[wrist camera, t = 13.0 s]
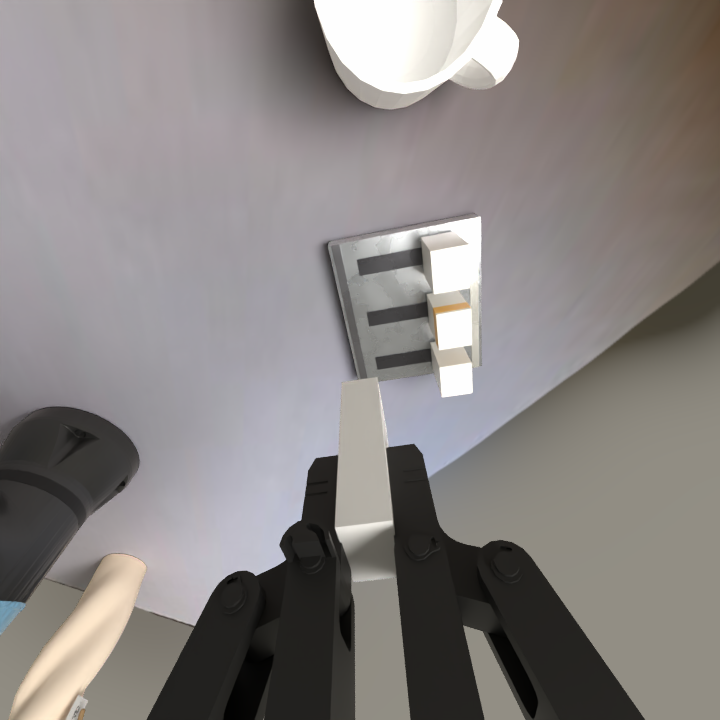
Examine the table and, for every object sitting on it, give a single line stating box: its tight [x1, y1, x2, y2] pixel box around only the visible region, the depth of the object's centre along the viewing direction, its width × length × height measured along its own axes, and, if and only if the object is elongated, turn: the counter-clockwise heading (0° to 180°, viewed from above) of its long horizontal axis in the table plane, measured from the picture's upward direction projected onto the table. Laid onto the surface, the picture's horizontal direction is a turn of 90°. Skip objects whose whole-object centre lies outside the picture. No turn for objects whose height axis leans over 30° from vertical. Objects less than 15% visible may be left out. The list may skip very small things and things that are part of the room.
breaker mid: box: [427, 290, 472, 350], centre depth 33 cm, size 3×4×5 cm
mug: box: [314, 0, 519, 110], centre depth 22 cm, size 13×10×10 cm
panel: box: [328, 213, 482, 382], centre depth 37 cm, size 14×16×2 cm
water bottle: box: [8, 554, 147, 720], centre depth 52 cm, size 10×9×28 cm
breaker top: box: [421, 231, 470, 294], centre depth 30 cm, size 3×4×5 cm
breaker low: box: [430, 342, 472, 397], centre depth 36 cm, size 3×4×5 cm
